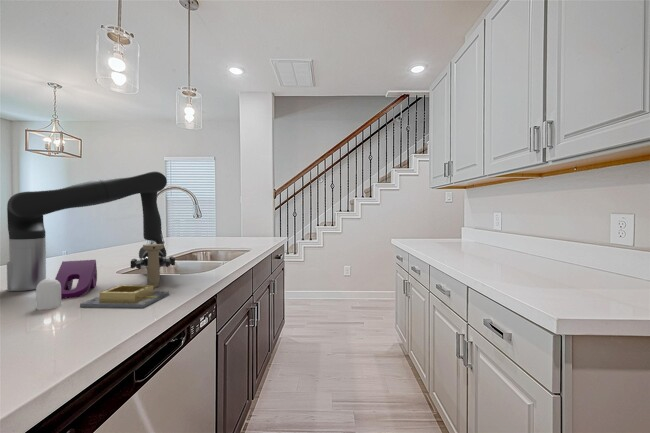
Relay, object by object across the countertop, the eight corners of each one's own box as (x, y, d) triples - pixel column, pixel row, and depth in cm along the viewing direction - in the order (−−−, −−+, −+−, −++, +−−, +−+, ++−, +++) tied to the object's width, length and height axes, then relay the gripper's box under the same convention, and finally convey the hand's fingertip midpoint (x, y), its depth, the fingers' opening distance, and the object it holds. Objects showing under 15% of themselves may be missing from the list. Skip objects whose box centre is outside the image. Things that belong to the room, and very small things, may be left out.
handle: (164, 287, 112) (164, 245, 112) (143, 289, 109) (143, 246, 109) (163, 284, 117) (162, 243, 116) (142, 286, 113) (142, 244, 113)
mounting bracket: (89, 312, 103) (97, 278, 118) (86, 292, 100) (95, 259, 114) (51, 316, 99) (65, 281, 113) (47, 295, 96) (62, 261, 110)
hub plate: (80, 307, 89) (79, 294, 89) (114, 293, 103) (114, 283, 103) (143, 307, 89) (143, 295, 89) (169, 294, 103) (168, 283, 103)
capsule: (49, 309, 87) (49, 280, 87) (30, 309, 87) (30, 280, 87) (66, 304, 92) (65, 276, 92) (48, 303, 93) (48, 276, 92)
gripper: (132, 250, 122) (129, 255, 108) (173, 248, 129) (176, 253, 115) (132, 269, 122) (129, 277, 108) (173, 266, 129) (176, 274, 115)
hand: (153, 265), depth 111 cm, fingers open, 8 cm apart
